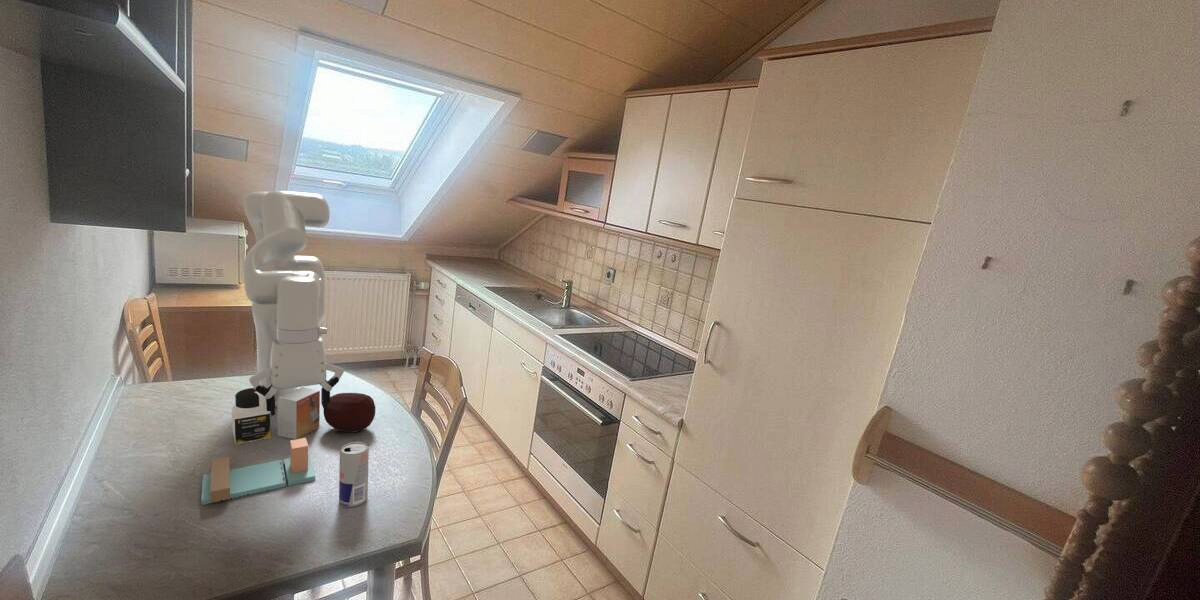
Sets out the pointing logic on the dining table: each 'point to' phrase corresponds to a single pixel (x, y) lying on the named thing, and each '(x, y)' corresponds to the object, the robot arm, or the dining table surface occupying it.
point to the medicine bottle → (250, 417)
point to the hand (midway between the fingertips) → (299, 409)
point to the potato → (350, 411)
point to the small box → (298, 412)
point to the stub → (299, 463)
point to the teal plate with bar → (240, 480)
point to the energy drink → (353, 474)
